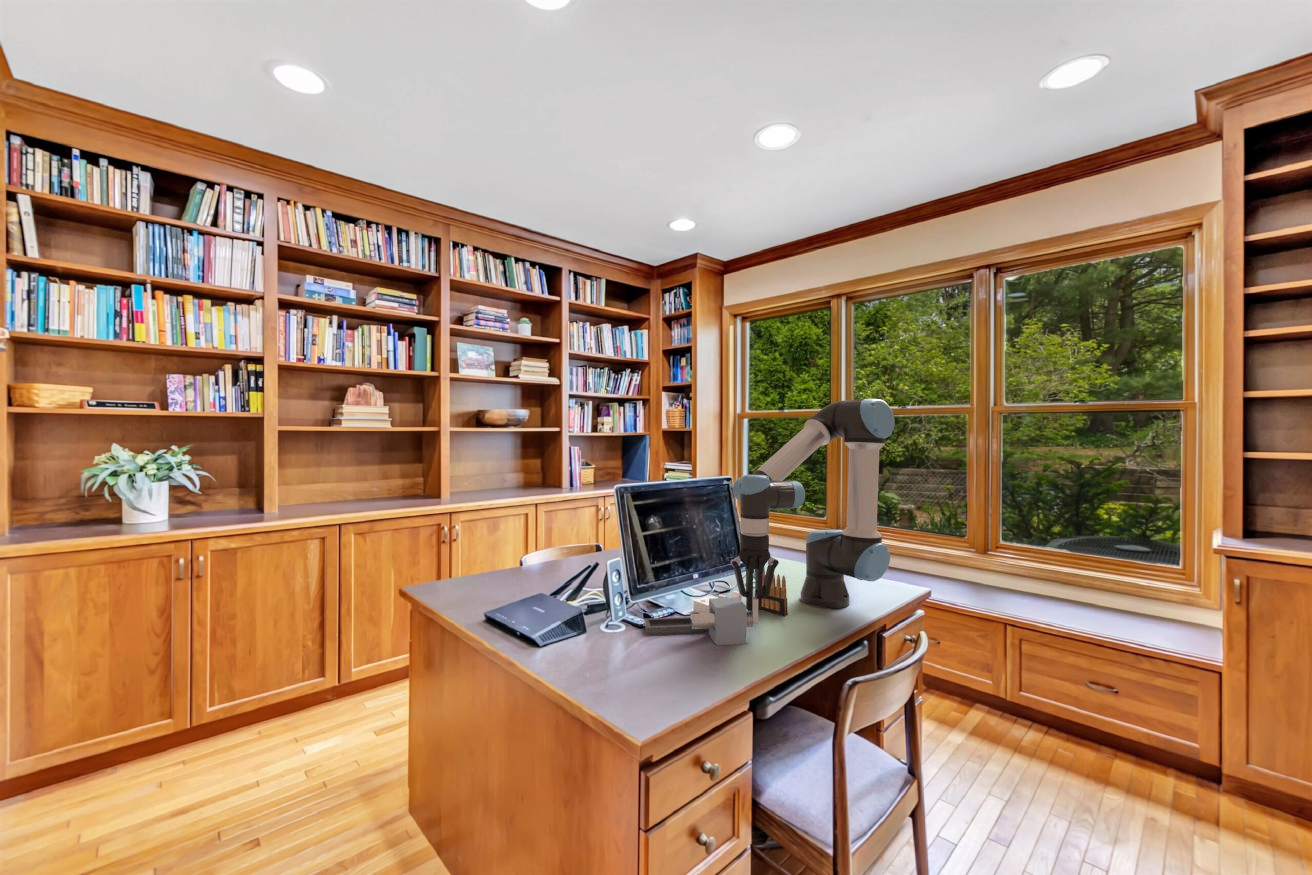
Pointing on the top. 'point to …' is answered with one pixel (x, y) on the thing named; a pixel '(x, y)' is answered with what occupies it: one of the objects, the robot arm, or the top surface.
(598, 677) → the top surface
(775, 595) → the ammunition clip
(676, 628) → the dark brown shallow tray
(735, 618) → the gray rectangular block
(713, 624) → the axle
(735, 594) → the bracket
